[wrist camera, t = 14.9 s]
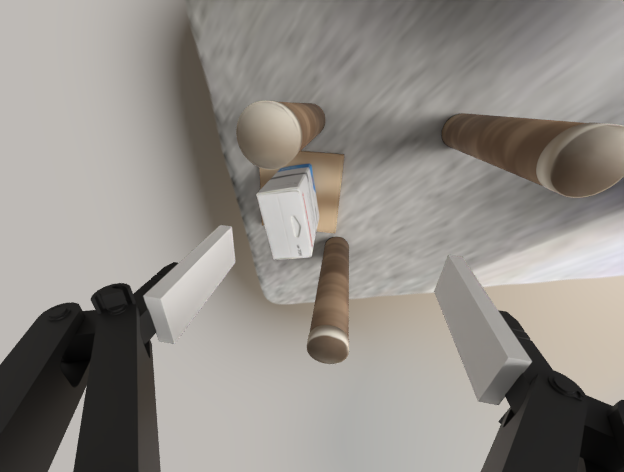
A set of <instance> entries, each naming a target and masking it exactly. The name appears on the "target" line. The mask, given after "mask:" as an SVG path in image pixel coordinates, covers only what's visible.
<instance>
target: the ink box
mask: <svg viewBox="0 0 624 472" xmlns="http://www.w3.org/2000/svg"><path fill="white" fill-rule="evenodd" d="M256 196H257V200H258V203H259V208H260V211H261V215H262V219H263V222H264V226H265V230H266V233H267V237H268V241H269V245H270V248H271V252H272V256H273V259H274V260H283V259H295V258H309V257H311V256H312V252H313V246H314V241H315V236H316V231H317V226H318V221H319V210H318V204H317V197H316V191H315V184H314V177H313V171H312V165H311V164H302V165H294V166H288V167H284V168H281V169H280V170H279V171H278V172H277V173H276V174H275V175H274V176H273V177H272V178H271V179H270V180H269V181H268V182H267V183H266V184H265V185H264V186H263V187H262V188H261V190H260V191H259V192H258V193H257V194H256Z"/></svg>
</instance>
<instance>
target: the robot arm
mask: <svg viewBox="0 0 624 472" xmlns="http://www.w3.org/2000/svg"><path fill="white" fill-rule="evenodd" d="M234 264H235V253H234V244H233V234H232V227H231V226H224V225H220V226H219V227H218V228H217V229H215V230H214V231H213V232H212V233H211V234H210V235H209V236H208V237H207V238H206V239H205V240H203V241H202V242H201V243H200V244H199V245H198V246H197V247H196V248H195V249H194V250H193V251H192V252H190V253H189V254H188V255H187V256H186V257H185V258H184V259H183V260H182V261H181V262H180V263H176V262H173V263H172V264H169V265H167V266H166V267H164V268H163V269H161V271H159V272H158V273H157V275H155V276H153V277H152V278H151V280H149V281H148V282H147V283H145V284H144V285H143V286H142V287H141V288H140V289H138V290H137V291H136V292H135V293H134V294H133V293H132V291H131V288H130V286H129V285H127V284H124V283H118V284H112V285H109V286H106V287H103V288H102V289H100V290H98V291H97V292H96V293H94V294H93V296H92V297H91V301H92V303H93V305H94V307H95V309H96V310H91V311H82V309H81V307H80V306H79V304H77V303H64V304H60V305H57V306H54V307H52V308H50V309H48V310H47V311H45V312H43V313H42V314H41V315H40V316H39V317H38V318H37V319H36V321H35V322H34V323H33V325H32V326H31V327H30V328H29V330H28V331H27V332H26V333H25V335H24V336H23V337H22V338H21V339H20V341H19V342H18V343H17V344H16V346H15V347H14V348H13V349H12V351H11V352H10V353H9V354H8V356H7V357H6V358H5V359H4V361H3V362H2V363H1V365H0V472H48V470H49V468H50V465H51V463H52V461H53V459H54V456H55V454H56V452H57V450H58V448H59V445H60V443H61V441H62V439H63V437H64V434H65V432H66V430H67V428H68V425H69V423H70V421H71V419H72V417H73V414H74V412H75V410H76V408H77V406H78V403H79V401H80V399H81V397H82V394H83V392H84V390H85V388H86V386H87V388H86V394H85V401H84V407H83V413H82V420H81V426H80V433H79V439H78V446H77V452H76V459H75V465H74V471H73V472H160V457H159V442H158V429H157V414H156V399H155V385H154V370H153V355H152V344H151V341H150V339H151V338H152V337H153V335H154V334H155V333H156V334H157V337H158V340H159V341H160V342H166V343H171V344H175V343H176V341H177V340H178V339H179V337H180V336H181V335H182V333H183V332H184V331H185V329H186V328H187V327H188V325H189V324H190V323H191V321H192V320H193V319H194V317H195V316H196V315H197V313H198V312H199V311H200V309H201V308H202V307H203V305H204V304H205V303H206V301H207V300H208V299H209V297H210V296H211V294H212V293H213V292H214V290H215V289H216V288H217V286H218V285H219V284H220V282H221V281H222V280H223V278H224V277H225V276H226V274H227V273H228V272H229V270H230V269H231V268H232V266H233V265H234ZM434 292H435V295H436V297H437V300H438V302H439V305H440V307H441V310H442V312H443V315H444V317H445V320H446V322H447V325H448V327H449V330H450V332H451V335H452V337H453V340H454V342H455V345H456V347H457V350H458V352H459V355H460V357H461V360H462V362H463V364H464V367H465V370H466V372H467V375H468V377H469V380H470V382H471V385H472V387H473V390H474V392H475V395H476V397H477V400H478V401H479V402H484V403H489V404H495V405H499V404H500V402H501V401H502V400H503V399H504V397H506V399H507V401H508V403H509V405H510V408H509V410H508V411H507V412H506V413H505V414H504V416H503V417H502V418H501V419H500V420H499V423H501V426H500V428H499V431H498V433H497V436H496V438H495V440H494V442H493V445H492V447H491V449H490V452H489V454H488V456H487V459H486V461H485V463H484V466H483V468H482V470H481V472H624V400H621V401H619V402H618V403H616V404H615V405H614V406H611V405H609V404H606V403H604V402H601V401H599V400H596V399H594V398H592V397H589V396H587V395H585V393H584V392H583V391H582V389H581V388H580V387H579V386H578V385H577V384H576V383H575V382H573V381H572V380H570V379H569V378H567V377H566V376H565V375H563V374H561V373H558V372H556V371H553V370H552V368H551V367H550V365H549V364H548V363H547V361H546V360H545V358H544V357H543V356H542V354H541V353H540V352H539V350H538V349H537V347H536V346H535V345H534V343H533V342H532V341H530V338H529V336H528V335H527V333H525V332H524V329H523V328H522V327H521V325H520V324H519V322H518V321H517V320H516V319H515V318H513V317H512V316H511V315H510V314H509V313H508V312H505V311H499V310H497V308H496V307H495V305H494V304H493V302H492V301H491V299H490V298H489V296H488V295H487V293H486V292H485V290H484V289H483V287H482V286H481V284H480V283H479V281H478V280H477V278H476V277H475V275H474V274H473V272H472V271H471V269H470V268H469V266H468V265H467V263H466V262H465V260H464V259H463V257H461V256H453V255H448V257H447V260H446V262H445V265H444V267H443V270H442V273H441V275H440V278H439V280H438V283H437V285H436V288H435V291H434Z"/></svg>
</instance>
